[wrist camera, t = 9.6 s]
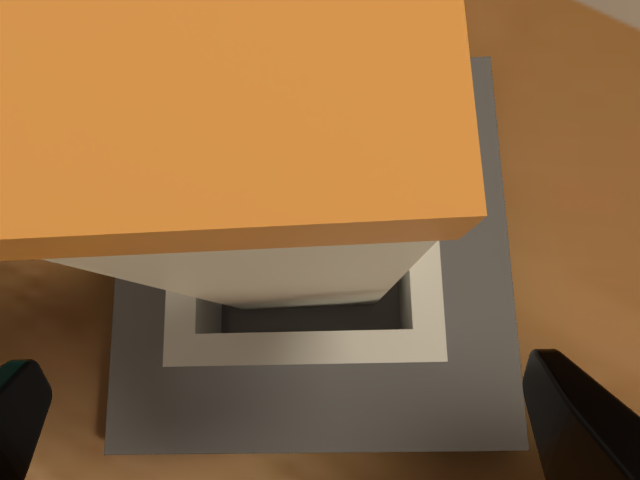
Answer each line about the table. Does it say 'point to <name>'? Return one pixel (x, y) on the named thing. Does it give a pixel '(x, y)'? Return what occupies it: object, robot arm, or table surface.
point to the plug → (238, 143)
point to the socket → (333, 356)
